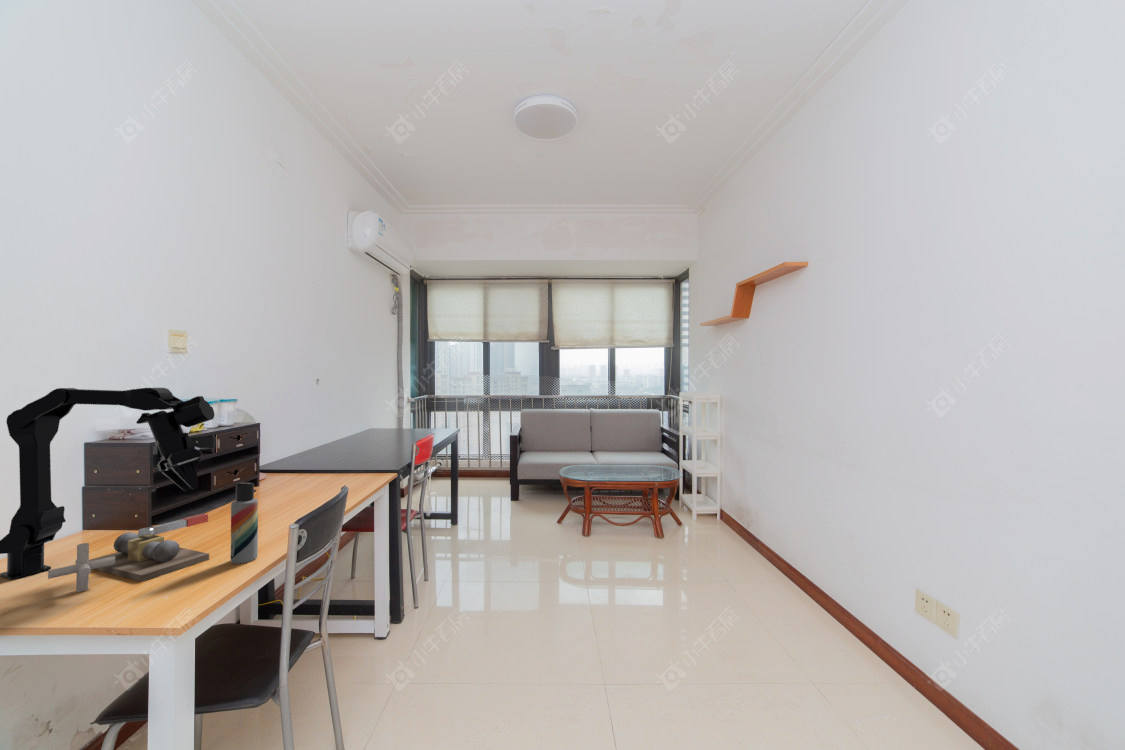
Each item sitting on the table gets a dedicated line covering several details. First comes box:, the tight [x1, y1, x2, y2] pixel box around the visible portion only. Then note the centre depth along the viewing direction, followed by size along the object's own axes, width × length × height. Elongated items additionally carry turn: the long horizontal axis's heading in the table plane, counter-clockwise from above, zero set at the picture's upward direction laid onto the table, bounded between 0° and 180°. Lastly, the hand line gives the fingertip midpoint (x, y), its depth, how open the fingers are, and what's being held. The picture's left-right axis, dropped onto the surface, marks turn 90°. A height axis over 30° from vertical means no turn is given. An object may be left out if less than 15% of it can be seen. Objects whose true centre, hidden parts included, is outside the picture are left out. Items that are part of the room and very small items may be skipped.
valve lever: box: [137, 513, 209, 538], centre depth 119 cm, size 15×3×2 cm, turn 159°
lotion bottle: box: [230, 481, 259, 565], centre depth 115 cm, size 6×6×20 cm
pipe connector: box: [47, 542, 115, 593], centre depth 99 cm, size 10×10×10 cm
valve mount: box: [89, 531, 210, 583], centre depth 113 cm, size 24×14×6 cm, turn 69°
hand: (191, 489), depth 116 cm, fingers open, 9 cm apart
